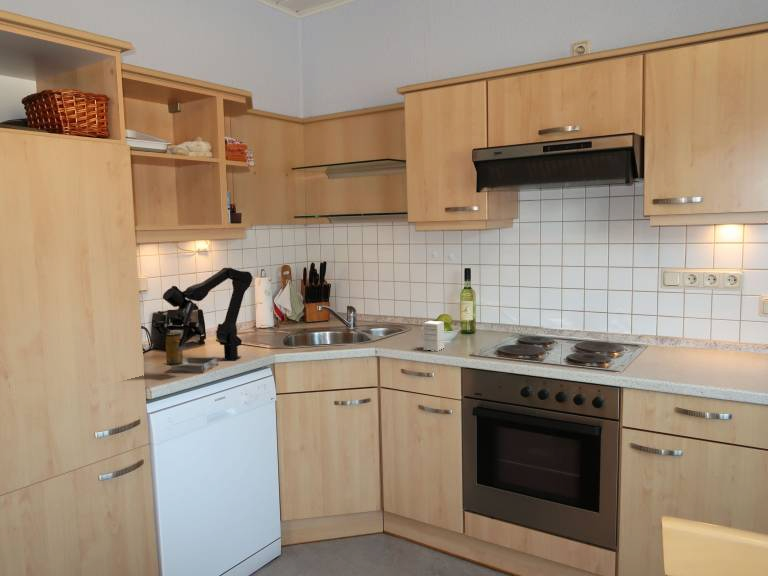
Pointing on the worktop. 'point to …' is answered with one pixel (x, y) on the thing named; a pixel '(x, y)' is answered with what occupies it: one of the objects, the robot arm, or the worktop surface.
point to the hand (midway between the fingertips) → (172, 346)
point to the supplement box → (433, 335)
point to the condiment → (174, 350)
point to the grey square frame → (195, 365)
